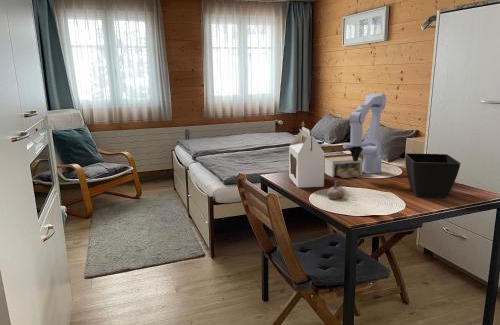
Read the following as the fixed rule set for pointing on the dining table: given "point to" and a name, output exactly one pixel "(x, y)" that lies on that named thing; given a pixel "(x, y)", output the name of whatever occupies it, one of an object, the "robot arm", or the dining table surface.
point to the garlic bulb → (335, 192)
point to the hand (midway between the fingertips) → (355, 161)
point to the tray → (346, 171)
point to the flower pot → (431, 174)
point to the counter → (342, 161)
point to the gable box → (306, 161)
